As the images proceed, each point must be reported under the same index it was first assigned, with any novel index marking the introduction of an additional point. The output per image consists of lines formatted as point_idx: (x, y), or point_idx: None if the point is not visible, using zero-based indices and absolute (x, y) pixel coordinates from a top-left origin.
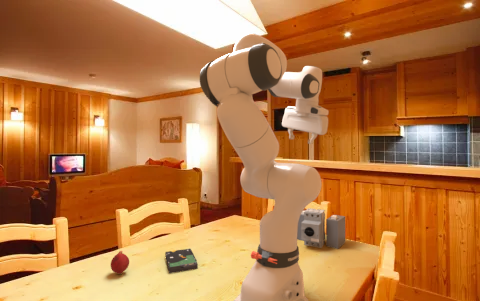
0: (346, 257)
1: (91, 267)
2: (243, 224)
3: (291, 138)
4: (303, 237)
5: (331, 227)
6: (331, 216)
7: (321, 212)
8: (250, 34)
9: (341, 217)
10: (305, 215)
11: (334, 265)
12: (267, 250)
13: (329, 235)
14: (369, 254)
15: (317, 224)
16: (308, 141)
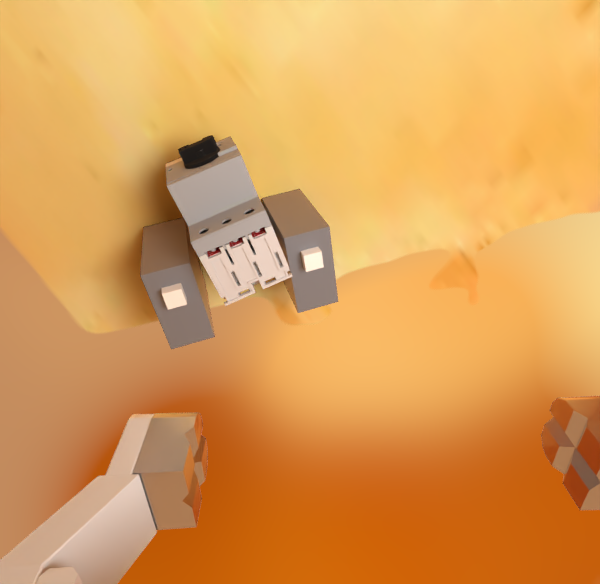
0: (72, 186)
1: None
2: (532, 153)
3: (574, 402)
4: (223, 141)
5: (166, 253)
6: (180, 288)
7: (205, 261)
8: None
9: (169, 327)
10: (256, 206)
11: (40, 86)
12: None
13: (174, 237)
14: (50, 267)
15: (175, 187)
16: (177, 434)
